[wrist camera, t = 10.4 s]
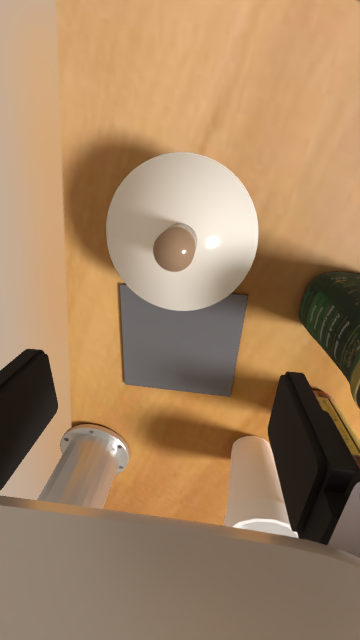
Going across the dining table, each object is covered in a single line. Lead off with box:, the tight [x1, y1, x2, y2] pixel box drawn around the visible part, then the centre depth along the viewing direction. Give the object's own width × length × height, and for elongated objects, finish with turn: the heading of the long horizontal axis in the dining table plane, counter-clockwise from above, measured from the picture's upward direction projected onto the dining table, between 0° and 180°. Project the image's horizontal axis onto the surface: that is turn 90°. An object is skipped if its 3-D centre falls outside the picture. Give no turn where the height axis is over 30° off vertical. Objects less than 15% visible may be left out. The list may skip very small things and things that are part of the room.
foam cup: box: [225, 436, 298, 538], centre depth 39 cm, size 10×9×13 cm
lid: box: [106, 152, 258, 311], centre depth 23 cm, size 14×14×6 cm
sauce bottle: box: [313, 390, 360, 468], centre depth 30 cm, size 6×6×20 cm
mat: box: [120, 284, 248, 397], centre depth 37 cm, size 16×16×1 cm
